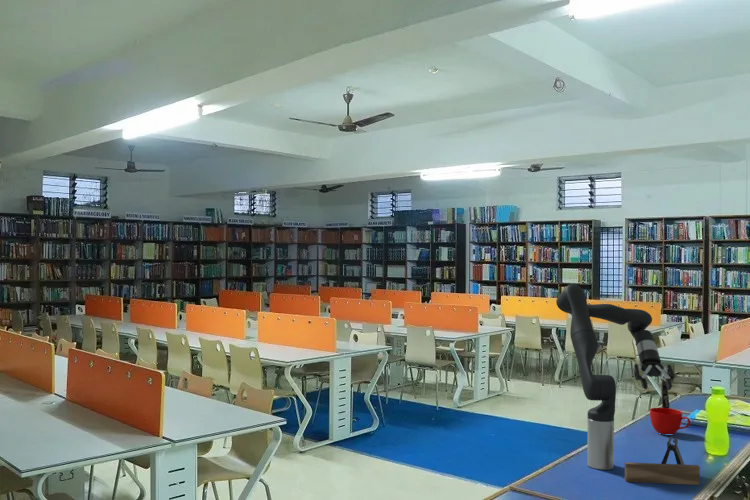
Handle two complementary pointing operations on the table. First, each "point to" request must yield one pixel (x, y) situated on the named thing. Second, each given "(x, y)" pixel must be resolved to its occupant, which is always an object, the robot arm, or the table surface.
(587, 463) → the robot arm
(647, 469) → the board
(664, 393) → the statue
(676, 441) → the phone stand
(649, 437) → the table surface
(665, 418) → the ceramic cup
